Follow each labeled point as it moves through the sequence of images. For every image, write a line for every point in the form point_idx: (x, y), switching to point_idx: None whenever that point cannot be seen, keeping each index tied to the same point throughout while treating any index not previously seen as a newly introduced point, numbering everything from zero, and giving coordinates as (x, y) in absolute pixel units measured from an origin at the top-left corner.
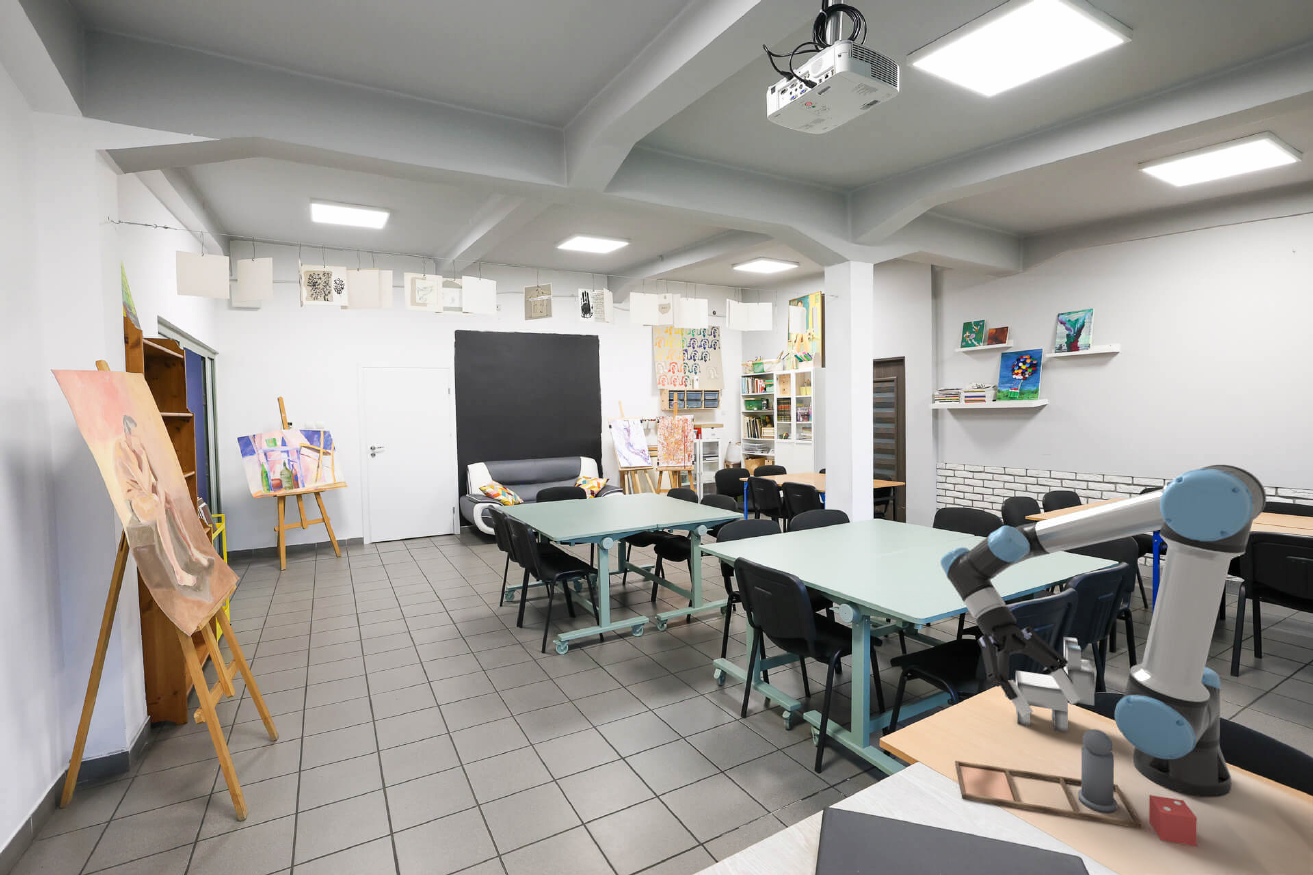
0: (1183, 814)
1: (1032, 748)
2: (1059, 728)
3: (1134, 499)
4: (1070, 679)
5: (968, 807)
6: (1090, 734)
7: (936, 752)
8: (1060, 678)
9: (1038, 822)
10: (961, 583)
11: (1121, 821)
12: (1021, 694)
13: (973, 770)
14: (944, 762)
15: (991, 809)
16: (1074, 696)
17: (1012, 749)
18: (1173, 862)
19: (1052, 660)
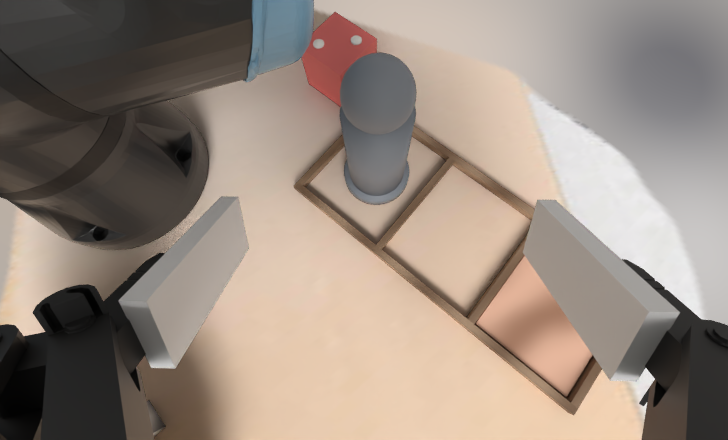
0: (345, 23)
1: (310, 381)
2: (154, 419)
3: None
4: (143, 266)
5: (647, 260)
6: (404, 79)
7: None
8: (189, 292)
9: (537, 175)
10: None
11: None
12: (589, 244)
13: (545, 362)
14: (590, 432)
15: (601, 237)
16: (234, 221)
17: (363, 401)
18: (411, 44)
19: (91, 372)
